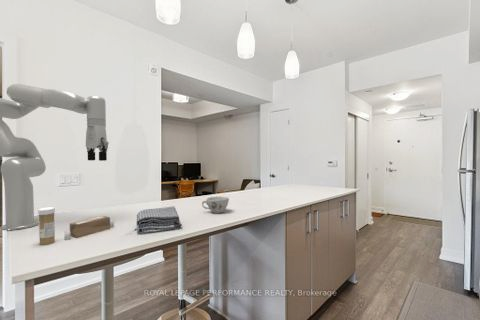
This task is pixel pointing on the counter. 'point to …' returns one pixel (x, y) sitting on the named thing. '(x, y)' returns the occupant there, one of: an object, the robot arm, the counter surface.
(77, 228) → the frame
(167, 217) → the towel
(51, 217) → the pill bottle
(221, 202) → the teacup
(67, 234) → the panel
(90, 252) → the counter surface
